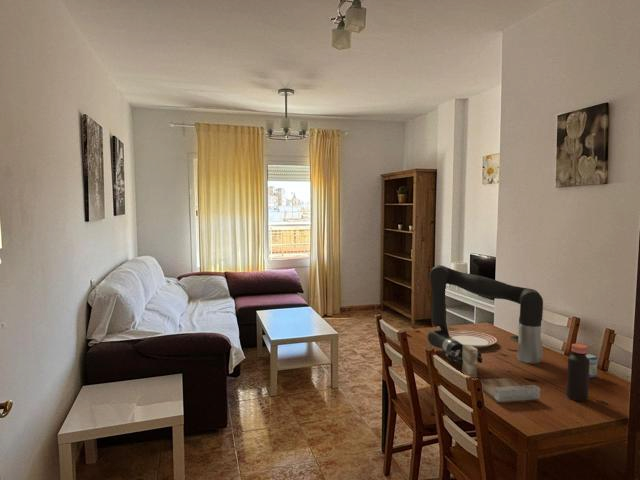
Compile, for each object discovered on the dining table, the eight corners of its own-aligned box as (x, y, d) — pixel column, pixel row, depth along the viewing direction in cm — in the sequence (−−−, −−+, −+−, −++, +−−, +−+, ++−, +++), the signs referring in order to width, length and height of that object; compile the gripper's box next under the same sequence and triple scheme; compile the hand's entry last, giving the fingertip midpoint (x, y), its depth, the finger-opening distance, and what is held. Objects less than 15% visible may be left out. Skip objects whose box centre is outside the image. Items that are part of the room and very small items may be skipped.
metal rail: (534, 395, 152) (534, 384, 152) (539, 398, 149) (540, 388, 149) (494, 398, 150) (494, 387, 150) (499, 401, 147) (499, 391, 147)
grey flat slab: (508, 380, 168) (508, 377, 168) (537, 400, 150) (537, 397, 150) (472, 382, 166) (472, 380, 166) (497, 403, 148) (497, 400, 148)
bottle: (578, 393, 156) (580, 342, 155) (592, 401, 150) (595, 348, 148) (562, 394, 155) (564, 343, 154) (575, 402, 149) (578, 349, 147)
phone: (525, 345, 210) (509, 336, 225) (525, 347, 210) (509, 338, 225) (539, 344, 211) (522, 336, 226) (539, 347, 211) (522, 338, 226)
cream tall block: (469, 371, 177) (470, 344, 177) (476, 377, 171) (477, 349, 171) (461, 372, 177) (462, 345, 176) (468, 377, 171) (469, 349, 170)
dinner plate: (430, 338, 224) (431, 332, 224) (469, 332, 235) (470, 327, 234) (466, 355, 199) (467, 348, 199) (508, 347, 209) (508, 341, 209)
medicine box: (582, 379, 170) (583, 358, 169) (573, 375, 174) (573, 355, 173) (597, 377, 172) (598, 357, 171) (587, 373, 176) (588, 353, 176)
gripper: (439, 341, 187) (455, 353, 171) (468, 339, 189) (487, 351, 173) (438, 357, 187) (455, 370, 171) (468, 355, 189) (487, 369, 173)
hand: (471, 361), depth 172 cm, fingers open, 8 cm apart
